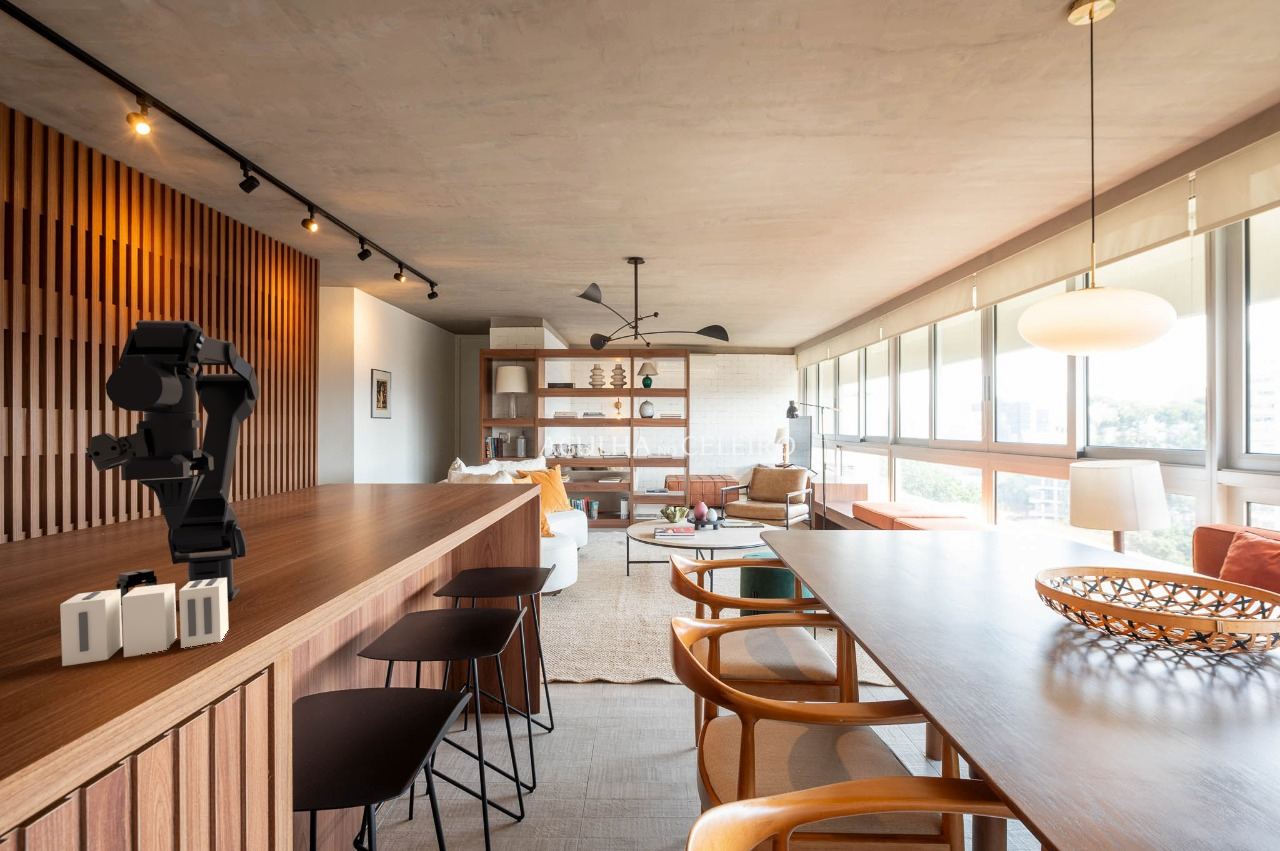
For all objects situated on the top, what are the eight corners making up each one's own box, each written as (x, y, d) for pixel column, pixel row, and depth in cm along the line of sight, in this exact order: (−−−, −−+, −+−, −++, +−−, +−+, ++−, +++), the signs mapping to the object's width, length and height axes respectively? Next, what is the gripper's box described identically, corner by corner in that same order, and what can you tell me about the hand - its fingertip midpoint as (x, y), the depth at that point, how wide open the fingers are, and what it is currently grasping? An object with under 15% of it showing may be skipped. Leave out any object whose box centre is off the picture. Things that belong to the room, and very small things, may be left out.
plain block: (137, 643, 77) (135, 587, 77) (176, 638, 78) (174, 583, 78) (123, 657, 72) (122, 597, 72) (166, 651, 74) (164, 592, 74)
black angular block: (100, 614, 92) (100, 582, 92) (76, 608, 95) (76, 578, 95) (192, 593, 103) (191, 565, 103) (168, 589, 106) (167, 562, 106)
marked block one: (80, 651, 74) (78, 592, 74) (122, 645, 76) (120, 587, 76) (61, 667, 70) (59, 603, 70) (106, 660, 71) (104, 598, 71)
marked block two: (191, 636, 79) (189, 580, 79) (228, 631, 81) (226, 576, 81) (180, 649, 74) (178, 589, 74) (220, 643, 76) (218, 585, 76)
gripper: (120, 416, 89) (123, 524, 89) (63, 412, 72) (68, 546, 72) (212, 414, 94) (216, 517, 94) (180, 410, 77) (184, 536, 77)
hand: (174, 528), depth 84 cm, fingers closed
